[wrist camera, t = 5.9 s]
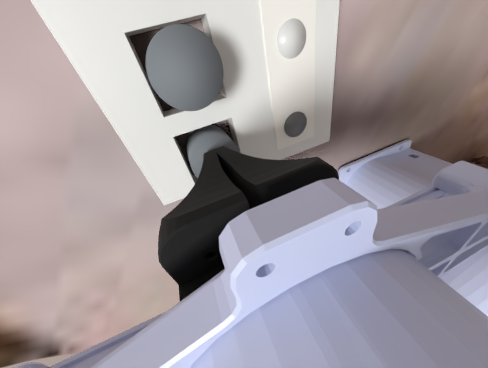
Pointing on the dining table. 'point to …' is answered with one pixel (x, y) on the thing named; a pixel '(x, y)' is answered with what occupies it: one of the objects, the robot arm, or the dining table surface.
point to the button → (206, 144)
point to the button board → (234, 78)
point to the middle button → (184, 67)
